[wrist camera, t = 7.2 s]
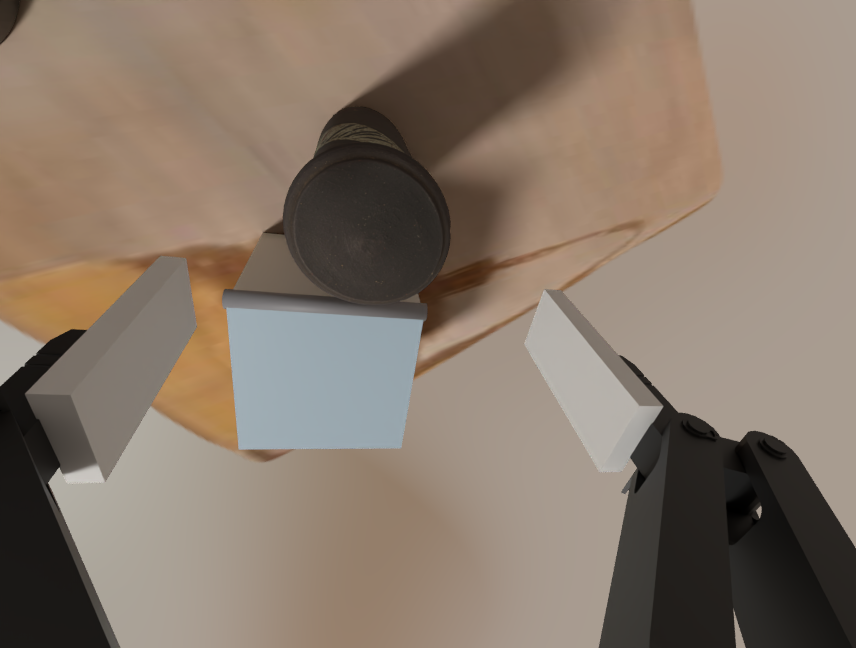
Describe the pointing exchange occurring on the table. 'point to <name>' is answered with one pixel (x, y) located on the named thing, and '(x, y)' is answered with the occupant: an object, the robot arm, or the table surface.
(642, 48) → the table surface
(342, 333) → the lid
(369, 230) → the container
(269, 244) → the box
